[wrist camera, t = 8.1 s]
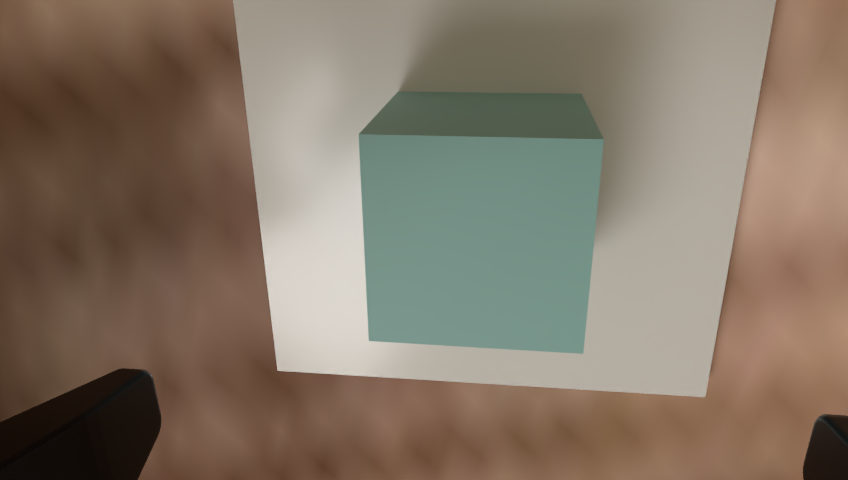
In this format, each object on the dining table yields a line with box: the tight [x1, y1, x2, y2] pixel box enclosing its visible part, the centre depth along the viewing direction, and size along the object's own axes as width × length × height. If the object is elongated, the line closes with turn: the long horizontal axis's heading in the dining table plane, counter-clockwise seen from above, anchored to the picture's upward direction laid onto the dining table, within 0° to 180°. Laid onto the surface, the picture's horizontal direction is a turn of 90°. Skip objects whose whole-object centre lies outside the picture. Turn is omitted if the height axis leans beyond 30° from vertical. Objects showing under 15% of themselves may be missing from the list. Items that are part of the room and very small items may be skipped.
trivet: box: [233, 0, 776, 397], centre depth 19 cm, size 14×14×1 cm
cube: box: [358, 92, 604, 354], centre depth 17 cm, size 5×5×5 cm
